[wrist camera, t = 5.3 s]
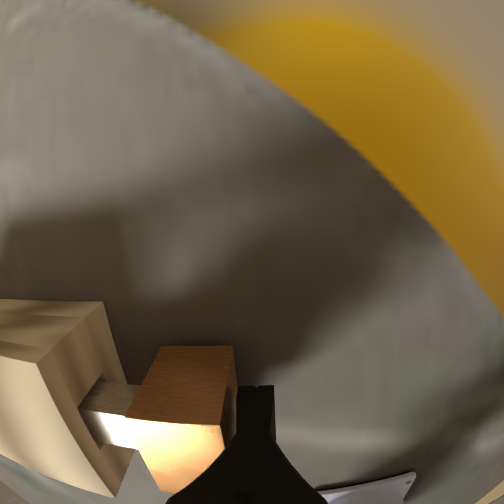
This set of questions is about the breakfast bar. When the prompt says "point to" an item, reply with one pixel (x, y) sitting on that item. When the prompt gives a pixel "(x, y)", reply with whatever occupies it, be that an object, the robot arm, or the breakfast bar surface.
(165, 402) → the shaft
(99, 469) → the block
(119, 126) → the breakfast bar surface
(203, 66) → the breakfast bar surface
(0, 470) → the breakfast bar surface
